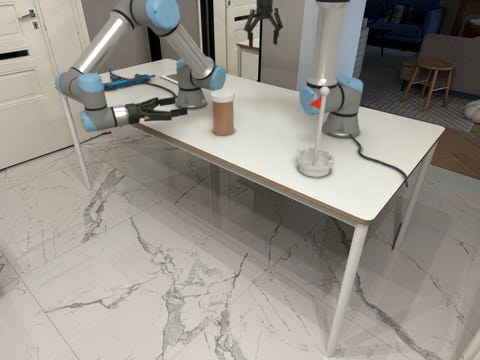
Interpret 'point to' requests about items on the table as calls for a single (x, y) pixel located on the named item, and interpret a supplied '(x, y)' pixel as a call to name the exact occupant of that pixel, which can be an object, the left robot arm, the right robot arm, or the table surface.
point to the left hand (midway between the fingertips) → (181, 105)
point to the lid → (222, 96)
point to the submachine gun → (126, 81)
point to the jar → (223, 118)
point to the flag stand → (316, 146)
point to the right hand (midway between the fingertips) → (263, 45)
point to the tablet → (171, 77)
